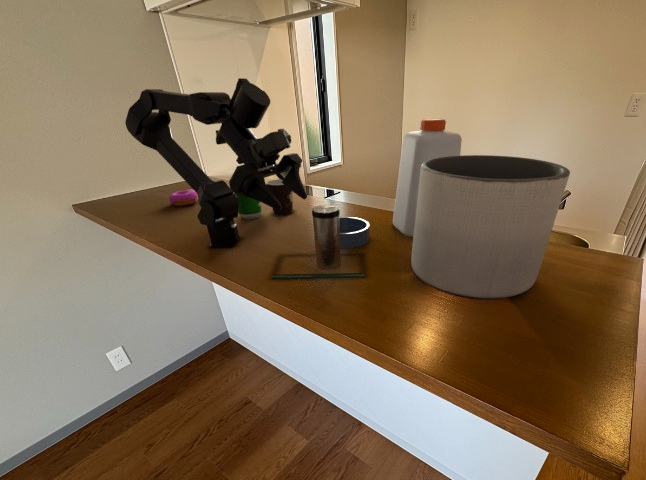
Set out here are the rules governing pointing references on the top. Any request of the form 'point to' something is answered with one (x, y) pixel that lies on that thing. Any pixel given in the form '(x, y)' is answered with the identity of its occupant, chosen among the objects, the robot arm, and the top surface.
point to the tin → (327, 236)
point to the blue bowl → (353, 232)
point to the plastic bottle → (419, 167)
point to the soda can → (248, 207)
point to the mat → (318, 276)
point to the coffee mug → (281, 196)
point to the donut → (183, 197)
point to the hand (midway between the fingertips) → (293, 203)
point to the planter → (484, 223)
